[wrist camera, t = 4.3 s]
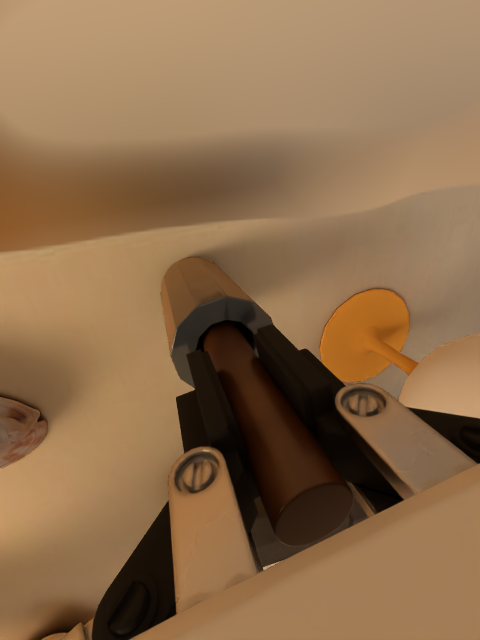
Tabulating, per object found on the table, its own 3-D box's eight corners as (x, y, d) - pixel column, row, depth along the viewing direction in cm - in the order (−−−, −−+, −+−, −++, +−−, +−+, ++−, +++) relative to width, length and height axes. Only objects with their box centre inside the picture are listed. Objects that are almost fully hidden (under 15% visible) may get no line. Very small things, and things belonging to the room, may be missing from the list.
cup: (310, 279, 23) (630, 442, 8) (433, 266, 26) (837, 367, 11) (300, 404, 27) (491, 659, 12) (406, 381, 30) (663, 565, 15)
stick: (187, 307, 21) (282, 560, 6) (178, 283, 20) (266, 509, 6) (212, 299, 21) (357, 523, 7) (204, 275, 20) (351, 469, 6)
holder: (173, 328, 21) (191, 408, 13) (151, 268, 19) (155, 319, 11) (233, 308, 22) (283, 372, 14) (217, 248, 20) (265, 283, 12)
